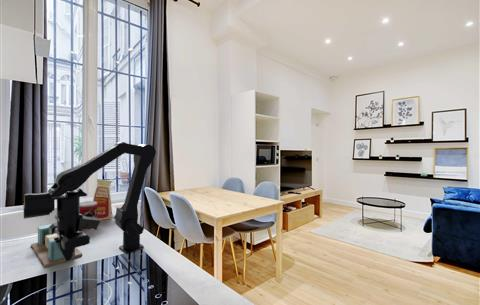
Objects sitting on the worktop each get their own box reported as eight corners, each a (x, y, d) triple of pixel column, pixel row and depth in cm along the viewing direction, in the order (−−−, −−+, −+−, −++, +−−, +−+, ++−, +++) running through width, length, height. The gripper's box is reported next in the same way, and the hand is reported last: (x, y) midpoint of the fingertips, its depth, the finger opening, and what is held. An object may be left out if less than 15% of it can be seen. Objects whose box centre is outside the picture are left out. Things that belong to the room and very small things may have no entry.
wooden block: (66, 251, 80) (66, 239, 80) (54, 254, 77) (54, 243, 77) (57, 242, 86) (57, 232, 86) (45, 246, 83) (45, 235, 83)
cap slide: (75, 254, 78) (75, 235, 78) (51, 261, 73) (51, 241, 73) (71, 250, 80) (71, 232, 80) (48, 257, 75) (48, 238, 75)
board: (82, 255, 79) (82, 253, 79) (44, 267, 71) (44, 265, 71) (64, 237, 92) (64, 235, 92) (31, 246, 84) (31, 243, 84)
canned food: (90, 230, 100) (90, 206, 100) (72, 229, 100) (72, 205, 100) (101, 224, 108) (101, 201, 107) (84, 223, 108) (84, 200, 107)
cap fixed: (61, 240, 88) (61, 224, 88) (40, 245, 83) (39, 229, 83) (59, 237, 90) (59, 222, 90) (37, 242, 85) (37, 226, 85)
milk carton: (91, 220, 112) (91, 180, 111) (93, 215, 120) (93, 177, 119) (112, 218, 116) (112, 179, 115) (113, 213, 124) (113, 176, 123)
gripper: (108, 212, 72) (108, 261, 73) (87, 201, 84) (87, 243, 84) (65, 221, 63) (65, 276, 64) (48, 207, 75) (48, 253, 76)
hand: (68, 260), depth 72 cm, fingers closed
